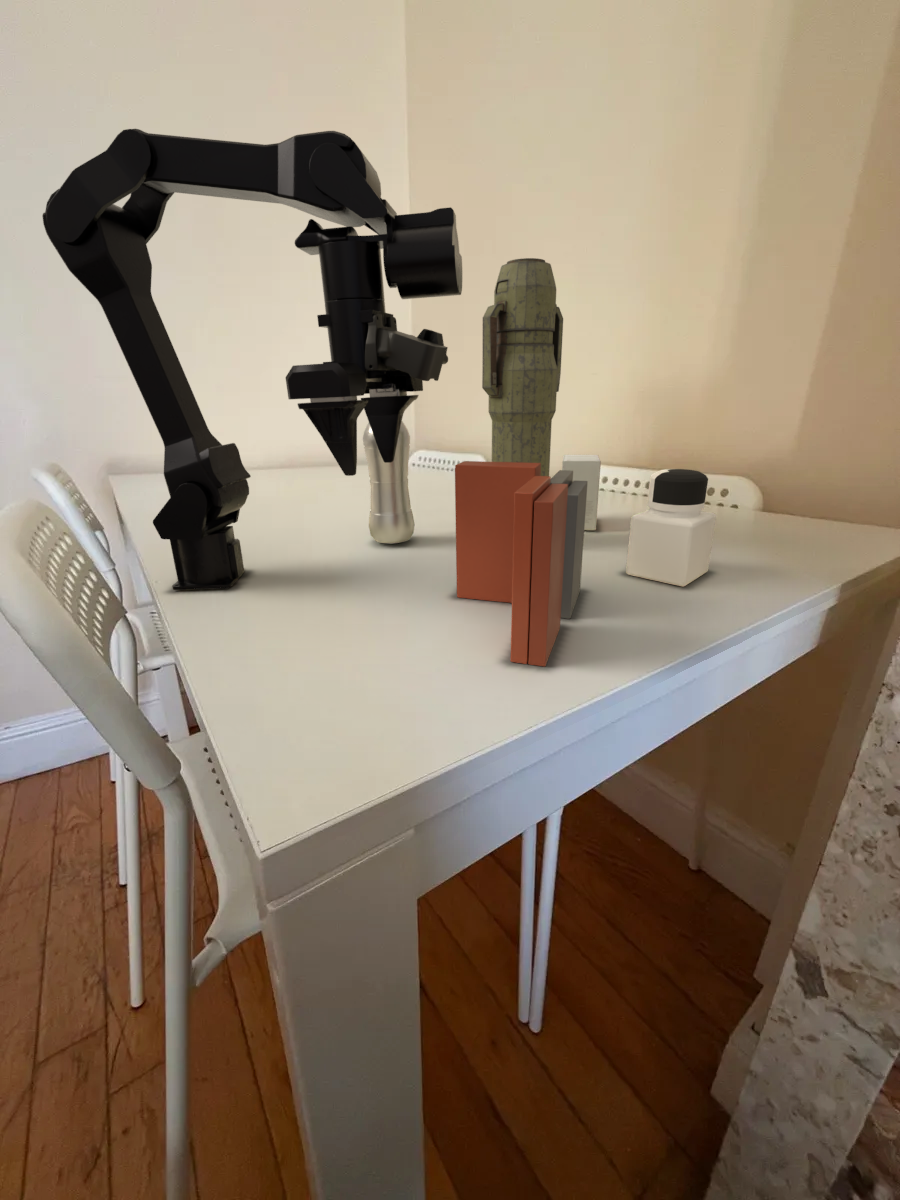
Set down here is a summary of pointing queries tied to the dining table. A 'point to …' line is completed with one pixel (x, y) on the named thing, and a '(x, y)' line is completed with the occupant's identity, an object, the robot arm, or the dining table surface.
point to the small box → (587, 471)
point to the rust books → (537, 569)
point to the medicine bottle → (672, 529)
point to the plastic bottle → (389, 490)
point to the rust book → (487, 526)
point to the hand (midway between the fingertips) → (370, 468)
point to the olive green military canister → (522, 361)
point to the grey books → (572, 539)
